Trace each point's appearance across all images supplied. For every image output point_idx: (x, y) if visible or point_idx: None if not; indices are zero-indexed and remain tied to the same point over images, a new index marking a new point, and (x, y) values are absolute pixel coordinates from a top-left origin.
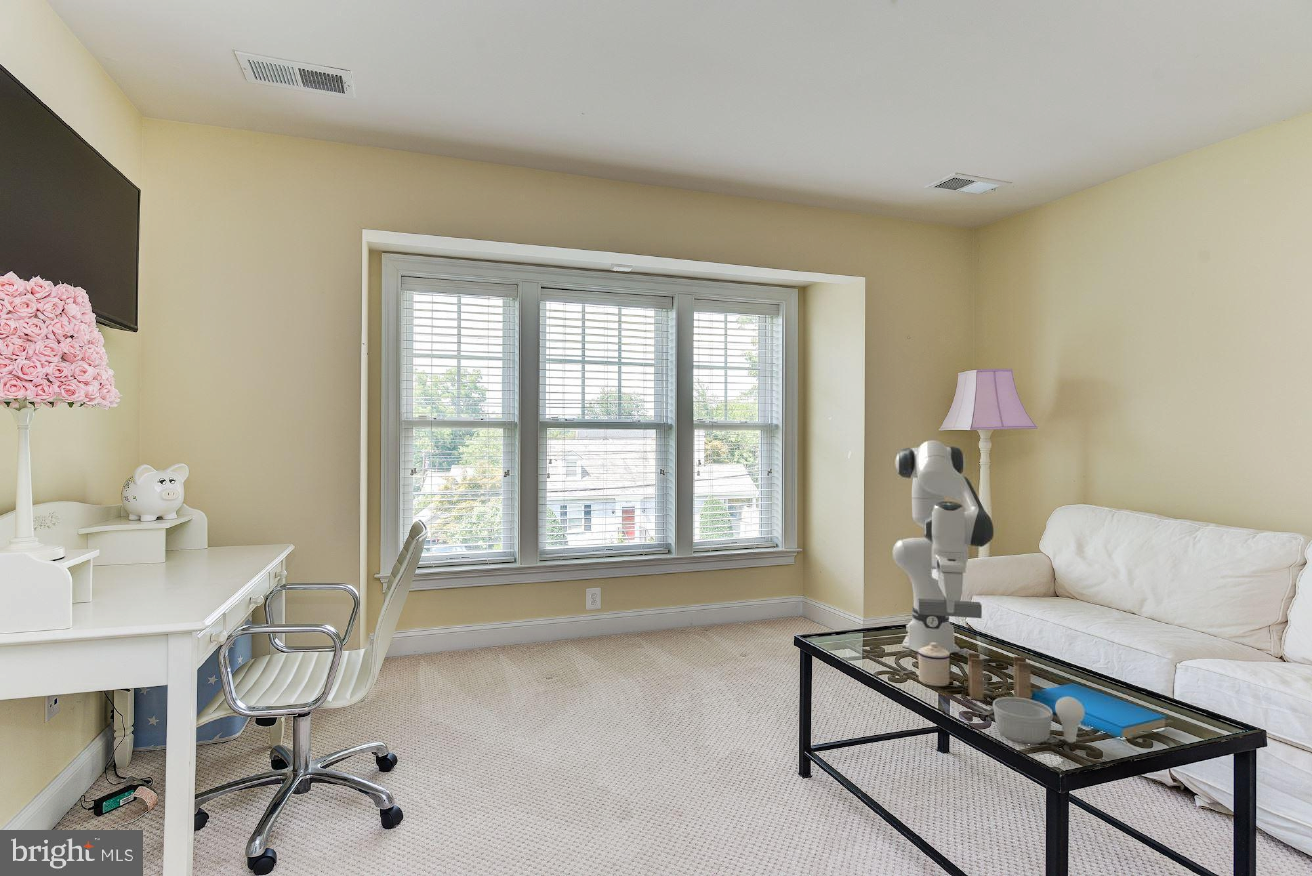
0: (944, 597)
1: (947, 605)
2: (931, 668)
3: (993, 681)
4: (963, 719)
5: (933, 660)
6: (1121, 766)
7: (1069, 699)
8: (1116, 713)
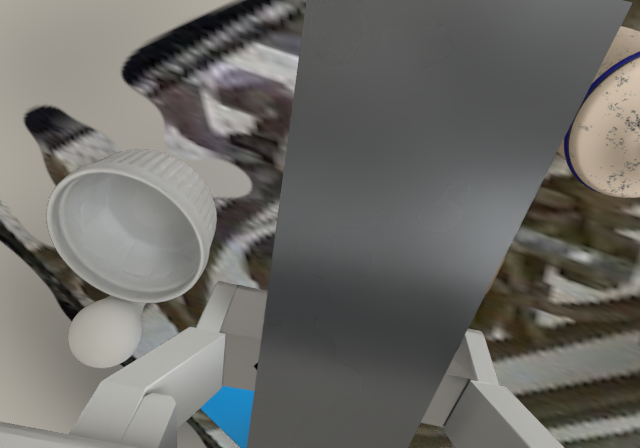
0: (502, 426)
1: (180, 337)
2: None
3: (548, 277)
4: (222, 77)
5: None
6: (63, 311)
7: (77, 353)
8: (249, 407)
